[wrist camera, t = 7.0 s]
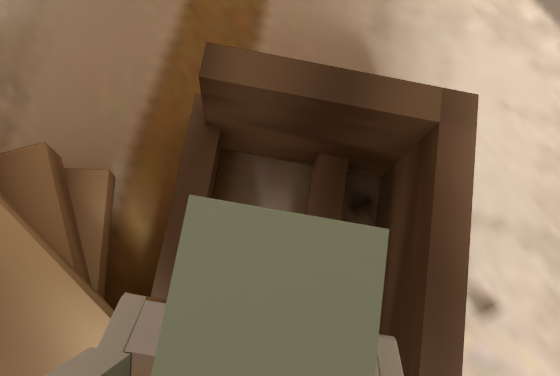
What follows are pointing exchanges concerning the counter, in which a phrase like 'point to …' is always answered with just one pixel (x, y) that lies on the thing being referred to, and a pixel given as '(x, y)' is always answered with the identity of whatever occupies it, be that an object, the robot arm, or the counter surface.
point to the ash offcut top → (42, 302)
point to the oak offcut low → (93, 218)
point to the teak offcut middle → (43, 198)
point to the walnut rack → (358, 159)
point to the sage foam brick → (271, 294)
